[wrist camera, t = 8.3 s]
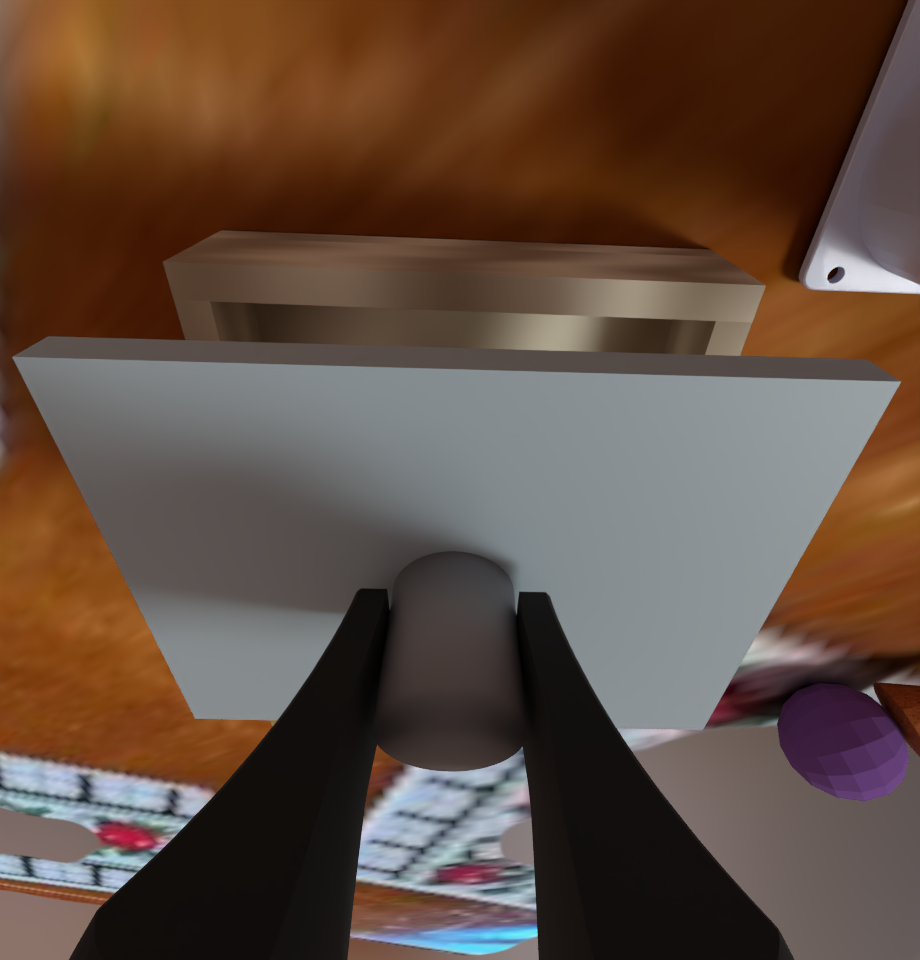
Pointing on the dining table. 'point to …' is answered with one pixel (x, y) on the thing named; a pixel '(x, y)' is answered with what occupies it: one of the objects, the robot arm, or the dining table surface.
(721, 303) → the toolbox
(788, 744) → the kendama
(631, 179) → the dining table surface
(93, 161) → the dining table surface
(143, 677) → the dining table surface
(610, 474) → the lid
